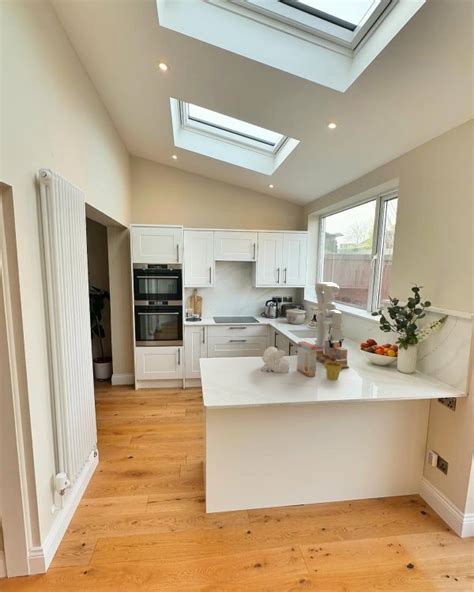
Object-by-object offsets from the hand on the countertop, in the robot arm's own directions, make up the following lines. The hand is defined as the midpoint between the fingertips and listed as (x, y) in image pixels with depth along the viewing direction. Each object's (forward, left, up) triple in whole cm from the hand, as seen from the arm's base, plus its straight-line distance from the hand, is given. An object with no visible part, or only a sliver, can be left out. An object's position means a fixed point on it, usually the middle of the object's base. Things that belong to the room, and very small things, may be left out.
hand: (335, 347), depth 242 cm
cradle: (+11, -16, -8) cm, 21 cm away
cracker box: (+24, -47, -8) cm, 53 cm away
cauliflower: (+11, -65, -9) cm, 66 cm away
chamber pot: (-137, +56, -9) cm, 148 cm away
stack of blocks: (0, 0, -9) cm, 9 cm away
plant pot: (+38, -36, -8) cm, 53 cm away
